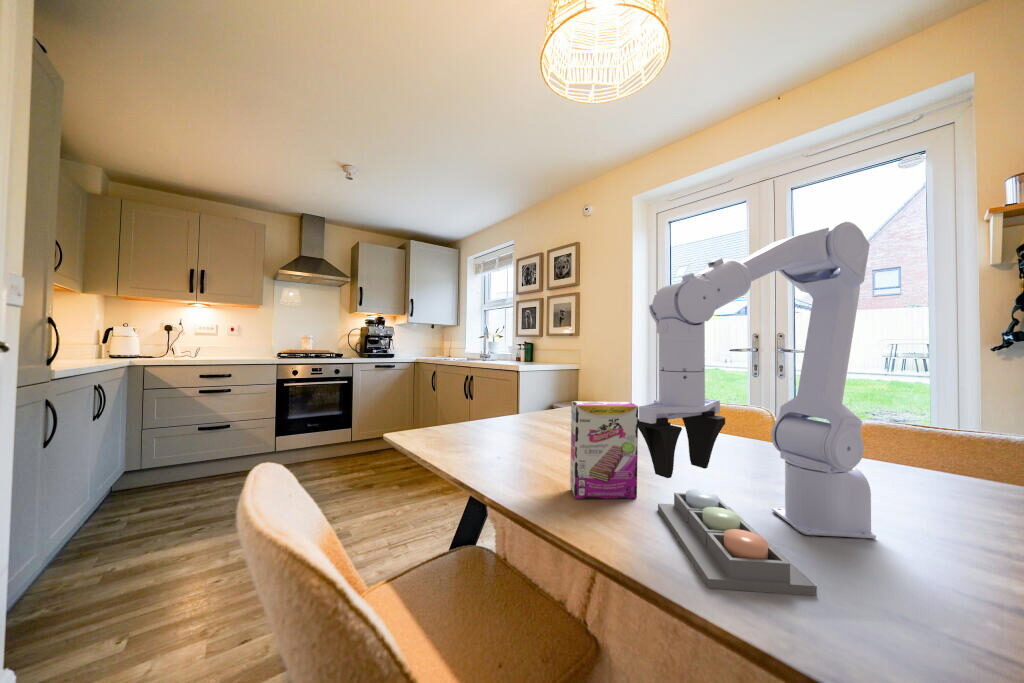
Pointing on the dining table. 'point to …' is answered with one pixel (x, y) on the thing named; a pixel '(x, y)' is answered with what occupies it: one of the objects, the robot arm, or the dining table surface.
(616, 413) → the candy bar box
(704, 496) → the pale blue button
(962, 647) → the dining table surface
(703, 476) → the dining table surface
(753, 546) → the terracotta button
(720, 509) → the sage button
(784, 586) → the button panel
